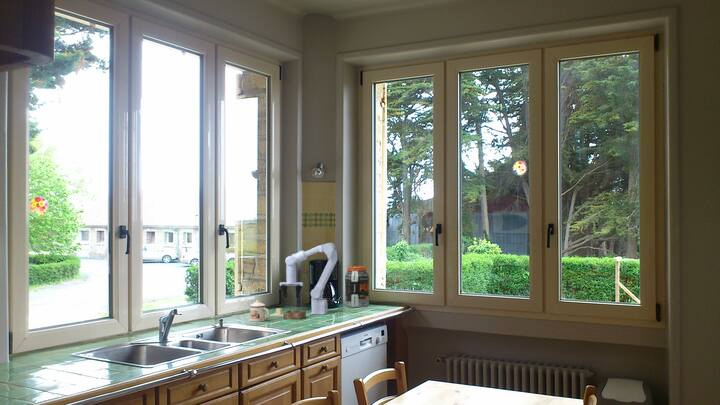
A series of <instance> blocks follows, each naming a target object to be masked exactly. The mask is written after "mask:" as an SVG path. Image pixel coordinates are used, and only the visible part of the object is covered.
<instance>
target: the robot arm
mask: <svg viewBox="0 0 720 405" xmlns="http://www.w3.org/2000/svg"><path fill="white" fill-rule="evenodd" d="M316 253H324V254H325V255H326V257H327V259H328V260H327V263H326V265H325V267H324V269H323V271H322V273H321V276H320V277H319V280H318V281H317V284H316V285H315V286H314V288H313V289H311V291H310V296H311V298H310V299H311V301H310V302H311V305H310V306H311V312H309V313H308V314H309V315H326V314H328V299H324V290H325V288H326V284H327V283H328V280H329V278H330V276H331V274H332V272H333V270H334V267H335V265H336V264H337V262H338V254H337V248H336V245H335V244H334V243H333V242H328V243H324V244H320V245H317V246H315V247H313V248H310V249H308V250H306V251H305V250H299V251H298V252H296V253H292V254H291V255H289V256H287V257H286V258H285V264H286V265H285V266H286V270H285V272H286V282H284V281H281V282H279V286H280V289H281V291H282V294H283V297H284V298H287V297H288V293H287V292H288V286H289V287H292V286H293V287H294V286H295V298H296V299H298V298H299V295H300V293H301V290H302V287H304V282H299V281H298V282H297V270H296V268H297V267H296V263H297V264H298V263H300V262H302V261H303V262H304V261H305V260H307V259H308V257H309V256H311V255H314V254H316Z"/></svg>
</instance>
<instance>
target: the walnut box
mask: <svg viewBox="0 0 720 405" xmlns="http://www.w3.org/2000/svg"><path fill="white" fill-rule="evenodd" d="M283 313H284V317H283V320H302V319H305V318H306V317H307V311H306V310H298V309H296V310H292V309H291V310H288V311H284V312H283Z"/></svg>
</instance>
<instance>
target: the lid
mask: <svg viewBox="0 0 720 405" xmlns="http://www.w3.org/2000/svg"><path fill="white" fill-rule="evenodd" d="M269 316H275V317H274V318H284V317H283V316H284V312H283V309H282V308H276V309H275V312H274V313H272V314H270V315H269Z"/></svg>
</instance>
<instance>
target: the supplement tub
mask: <svg viewBox="0 0 720 405" xmlns="http://www.w3.org/2000/svg"><path fill="white" fill-rule="evenodd" d="M346 271H347V272H346V273H345V275H344V280H345V281H344V284H345V285H344V286H345V288H344V290H345V291H344V292H345V294H344V295H345V298H344V299H345V303H344V304H345V305H346V306H347V307H348V308H349V307H351V308H361V307H362V308H363V307H368V306H369V305H370V286H369V285H370V281H369V280H370V277H369V273H368V272H367V266H364V265H363V266H361V265H358V266H347V270H346Z"/></svg>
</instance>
